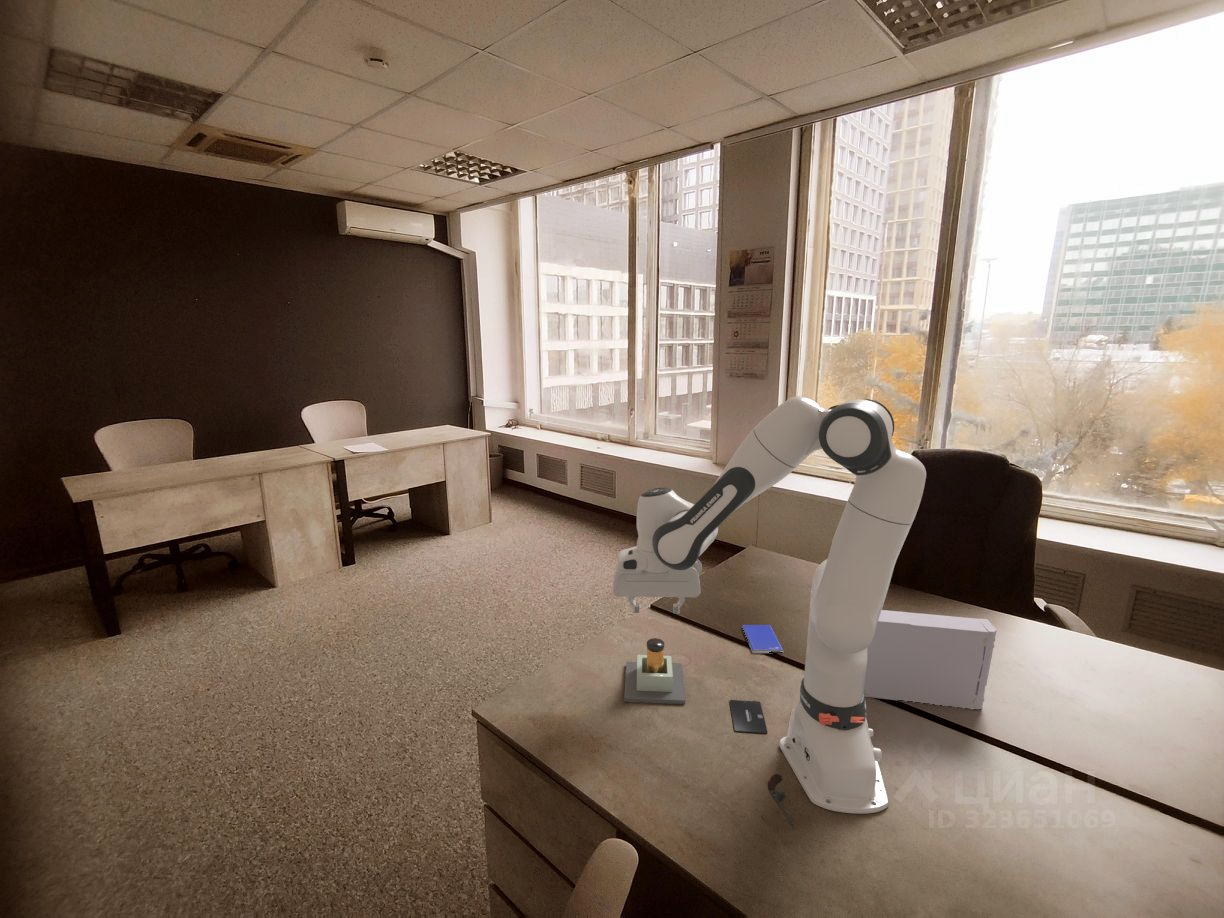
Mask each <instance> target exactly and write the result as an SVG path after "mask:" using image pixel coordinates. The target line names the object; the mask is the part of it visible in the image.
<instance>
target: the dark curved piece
mask: <svg viewBox="0 0 1224 918" xmlns="http://www.w3.org/2000/svg"><path fill="white" fill-rule="evenodd" d="M782 781H783V777H782V775H781V774H780V773H774V774H773V775H772V776H771V777H770V779H769V780H768V782H767V788H768V791H769V792H770V795H771V797H772V798H773V799H774V800H775V801H776V802H777V804H778V806H779V807H780V809H781V811H782V812H783V814H784V816H785V817H786V819H787V820H788V822H789V824H790V825H791V827H792V828H793V829H794V828H795V824H794V823H793V822H792V819H791V818H790V817H789V815H788V814H787V812H786V810H785V808H784V807H783V805H782V802H783V801H784V800H785V799H786V798H787V794H786V793H785V792H783V791H781V792H778V791H777V790H776V786H777V785H778V784H780V783H782Z"/></svg>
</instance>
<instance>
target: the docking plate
mask: <svg viewBox="0 0 1224 918" xmlns="http://www.w3.org/2000/svg"><path fill="white" fill-rule="evenodd" d="M636 658H637V659H636V660H637V661H626V666H625V680H624V681H625V682H624V684H625V685H624V702H625V703H642V704H643V703H645V704H647V703H648V704H672V705H673V704H674V705H675V704H676V705H686V694H685V684H684V676H683V674H684V673H683V664H682V663H681V662H680V663H679V662H678V663H675V662H673V658H672V655H664V664H663V673H647V654H637V656H636Z"/></svg>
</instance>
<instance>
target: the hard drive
mask: <svg viewBox="0 0 1224 918" xmlns="http://www.w3.org/2000/svg"><path fill="white" fill-rule="evenodd" d="M741 626H742V627H741V629H742V628H743V629H742V631H743V630H744V631H743V633H744V632H745V634H744V636H745V635H746V636H745V638H746V637H747V639H748V641H747V643H748V642H749V643H748V645H749V646H748V647H749V649H750V650H751V652H752V654H770V653H769V652H771V651H780V652H783V653H784V648H783V647H782V645H781V643H780V641H779V639H778V637H777V634H776V633H775V632H774V630H773V628H772V626H771V625H770V624H743V625H741ZM747 639H746V640H747Z"/></svg>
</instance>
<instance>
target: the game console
mask: <svg viewBox="0 0 1224 918" xmlns="http://www.w3.org/2000/svg"><path fill="white" fill-rule="evenodd" d="M996 635H997V628H996V627H995V626H994V625H993V623H991V622H990V621H989V619H987V618H974V617H965V616H964V617H963V616H952V615H944V614H943V615H941V614H931V613H929V614H928V613H921V612H920V613H919V612H918V613H917V612H907V611H897V610H886V609H882V610H881V613H880V616H879V619H878V623H877V626H876V630H875V634H874V638H873V640H872V642H871V643H870V645H869V646H868V650H867V668H866V676H865V684H864V695H865V698H866V697H867V698H875V699H882V700H891V701H898V700H906V701H905V702H907V701H913V702H912V703H915V702H922V703H921V704H923V703H930V704H929V705H932V704H935V705H934V706H940V705H942V707H948V706H952V707H951V708H957V707H964V708H963V709H965V708H974V709H981V708H982V709H983V704H984V703H985V693H986V692H985V691H986V687H987V685H988V679H989V674H990V669H991V668H990V667H991V662H992V658H993V652H994V648H995V641H996ZM953 706H954V707H953ZM982 709H981V710H982Z"/></svg>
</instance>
